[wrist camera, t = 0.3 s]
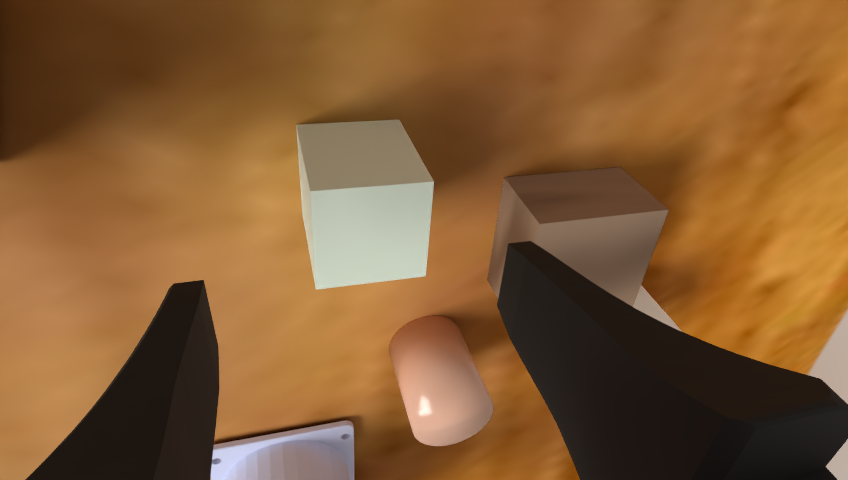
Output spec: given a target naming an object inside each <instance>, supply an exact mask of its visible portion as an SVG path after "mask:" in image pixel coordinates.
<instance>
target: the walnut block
mask: <svg viewBox="0 0 848 480" xmlns="http://www.w3.org/2000/svg"><path fill="white" fill-rule="evenodd" d="M668 211H669V209H668V208H666V207H665V206H664V205H663V204H662V203H661V202H660V201H659V200H657V199H656V198H655V197H654V196H653V195H652V194H651V193H650V192H648V191H647V190H646V189H645V188H644V187H643V186H642V185H641V184H639V183H638V182H637V181H636V180H635V179H634V178H633V177H632V176H630V175H629V174H628V173H627V172H626V171H625V170H624V169H622V168H621V167H614V168H603V169H592V170H581V171H570V172H558V173H547V174H536V175H525V176H513V177H504V180H503V186H502V192H501V199H500V205H499V211H498V217H497V224H496V230H495V236H494V242H493V248H492V255H491V261H490V267H489V273H488V279H487V280H488V282H489V284H490V285H491V287H492V289H493V291H494V293H495V294H496V296H497V298H499V292H500V286H501V281H502V275H503V269H504V264H505V258H506V252H507V247H508V243H516V242H525V241H532V242H533V243H535V244H536V245H538V246H540V247H541V248H543V249H544V250H546V251H547V252H549V253H550V254H552V255H553V256H555V257H556V258H558V259H559V260H560V261H562V262H563V263H565V264H566V265H568V266H569V267H571V268H572V269H574V270H575V271H577V272H578V273H579V274H581V275H582V276H584V277H585V278H587V279H588V280H590V281H591V282H593V283H595V284H596V285H598V286H599V287H601V288H602V289H604V290H606V291H607V292H609V293H610V294H612V295H614V296H615V297H617V298H619V299H620V300H622V301H624V302H625V303H627V304H629V305H631V306H632V307H633V305H634V302H635V300H636V297H637V294H638V292H639V289H640V286H641V284H642V281H643V278H644V276H645V273H646V270H647V267H648V265H649V262H650V259H651V257H652V254H653V251H654V249H655V246H656V243H657V240H658V238H659V235H660V232H661V230H662V227H663V224H664V222H665V219H666V216H667V213H668Z"/></svg>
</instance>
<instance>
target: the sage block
mask: <svg viewBox="0 0 848 480" xmlns="http://www.w3.org/2000/svg"><path fill="white" fill-rule="evenodd" d="M296 129H297V144H298V158H299V172H300V187H301V201H302V214H303V220H304V225H305V231H306V237H307V242H308V248H309V253H310V259H311V265H312V270H313V276H314V281H315V287H316V290H317V289H325V288H333V287H341V286H349V285H358V284H366V283H374V282H382V281H390V280H399V279H407V278H415V277H423V276H426V266H427V255H428V244H429V232H430V221H431V210H432V199H433V188H434V181H433V179H432V177H431V175H430V174H429V172H428V170H427V168H426V166H425V165H424V163H423V161H422V159H421V158H420V156H419V154H418V152H417V150H416V149H415V147H414V145H413V143H412V141H411V140H410V138H409V136H408V134H407V133H406V131H405V129H404V127H403V125H402V124H401V122H400V120H380V121H359V122H339V123H318V124H298V125H296Z"/></svg>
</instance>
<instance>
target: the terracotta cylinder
mask: <svg viewBox="0 0 848 480" xmlns="http://www.w3.org/2000/svg"><path fill="white" fill-rule="evenodd" d="M389 354H390V357H391V361H392V364H393V367H394V371H395V374H396V377H397V381H398V384H399V388H400V391H401V394H402V398H403V401H404V404H405V408H406V411H407V414H408V418H409V421H410V425H411V428H412V431H413V434H414V436H415V438H416V439H417V440H418V441H419V442H421V443H423V444H426V445H430V446H446V445H451V444H455V443H458V442H461V441H463V440H466V439H468V438H470V437H471V436H473V435H475V434H476V433H478V432H479V431H480V430H481V429H482V428H483V427H484V426H485V425H486V424H487V423H488V422H489V420H490V418H491V416H492V414H493V409H494V408H493V403H492V400H491V398H490V396H489V394H488V391H487V389H486V387H485V385H484V382H483V380H482V378H481V376H480V374H479V371H478V369H477V367H476V365H475V362H474V360H473V358H472V356H471V354H470V351H469V349H468V347H467V345H466V342H465V340H464V338H463V336H462V334H461V331H460V329H459V327H458V325H457V324H456V323H455V322H454V321H453V320H451V319H449V318H447V317H443V316H426V317H421V318H418V319H415V320H413V321H411V322H409V323H407V324H406V325H404V326H403V327H402V328H400V329H399V330H398V331H397V332H396V334H395V335H394V336H393V338H392V340H391V342H390V345H389Z"/></svg>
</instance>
